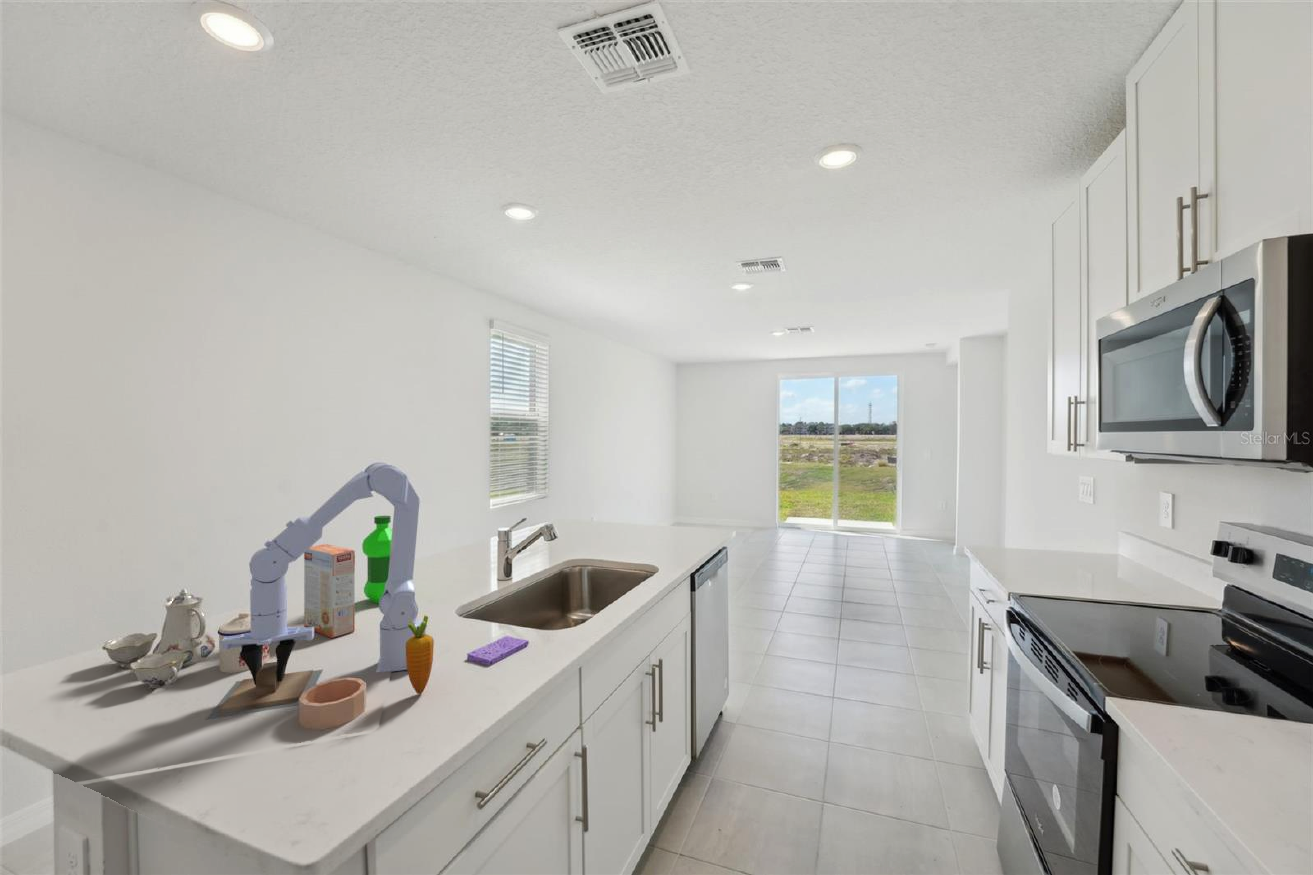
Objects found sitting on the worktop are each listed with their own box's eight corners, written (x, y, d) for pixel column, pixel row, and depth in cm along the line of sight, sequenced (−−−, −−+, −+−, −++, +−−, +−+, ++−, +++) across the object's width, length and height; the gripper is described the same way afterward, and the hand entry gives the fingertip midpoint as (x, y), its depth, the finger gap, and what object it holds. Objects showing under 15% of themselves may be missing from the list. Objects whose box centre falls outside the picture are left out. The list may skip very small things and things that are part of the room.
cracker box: (356, 631, 135) (356, 549, 135) (331, 639, 130) (331, 554, 130) (328, 620, 143) (327, 542, 143) (303, 627, 138) (302, 546, 137)
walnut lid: (313, 673, 111) (313, 650, 111) (298, 701, 100) (297, 676, 100) (243, 683, 107) (242, 659, 107) (219, 713, 96) (219, 687, 96)
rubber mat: (323, 671, 113) (323, 669, 113) (305, 706, 99) (305, 703, 99) (236, 683, 108) (236, 681, 108) (205, 722, 94) (205, 719, 94)
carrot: (406, 703, 101) (406, 623, 100) (405, 691, 105) (405, 615, 105) (434, 697, 103) (434, 619, 103) (432, 686, 107) (432, 611, 107)
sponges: (466, 661, 120) (466, 653, 120) (507, 641, 131) (507, 634, 131) (489, 668, 117) (489, 659, 116) (529, 647, 128) (529, 639, 128)
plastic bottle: (409, 597, 163) (409, 515, 162) (378, 608, 153) (378, 520, 153) (386, 593, 167) (386, 513, 166) (355, 603, 157) (354, 518, 157)
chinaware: (88, 676, 114) (75, 601, 112) (184, 640, 129) (174, 574, 127) (150, 707, 102) (138, 624, 100) (249, 664, 117) (239, 591, 115)
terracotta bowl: (369, 697, 103) (368, 674, 103) (361, 724, 93) (361, 699, 93) (308, 707, 99) (307, 683, 99) (293, 736, 90) (293, 710, 90)
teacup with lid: (241, 677, 111) (241, 621, 110) (206, 673, 113) (206, 617, 112) (292, 653, 122) (292, 602, 122) (260, 649, 124) (259, 599, 124)
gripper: (214, 622, 97) (215, 697, 97) (307, 613, 102) (308, 683, 102) (229, 610, 103) (229, 680, 104) (316, 601, 109) (316, 668, 109)
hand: (269, 680), depth 103 cm, fingers closed on walnut lid, 3 cm apart
